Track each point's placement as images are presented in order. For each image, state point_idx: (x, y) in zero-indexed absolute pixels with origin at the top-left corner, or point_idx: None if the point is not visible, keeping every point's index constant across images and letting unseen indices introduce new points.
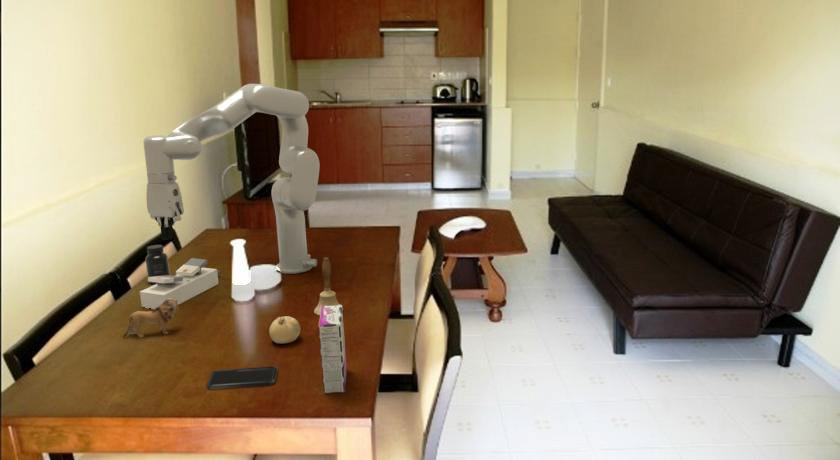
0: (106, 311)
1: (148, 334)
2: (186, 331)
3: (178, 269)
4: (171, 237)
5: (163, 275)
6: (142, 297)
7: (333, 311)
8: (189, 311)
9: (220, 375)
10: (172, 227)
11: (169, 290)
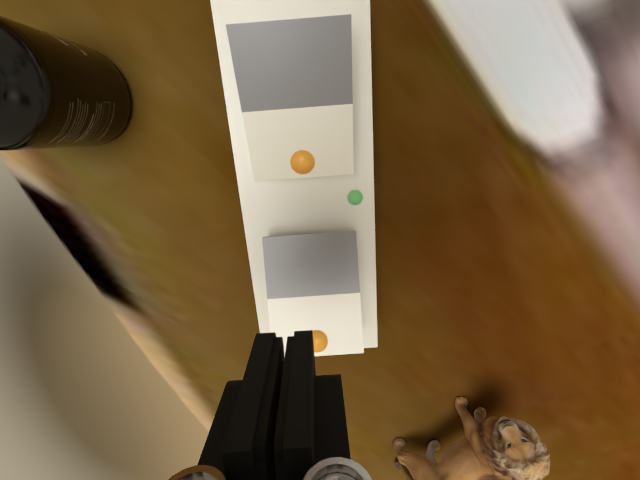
0: (197, 375)
1: (438, 429)
2: (525, 387)
3: (254, 162)
4: (313, 357)
5: (111, 111)
6: None
7: None
8: (442, 288)
9: None
10: (311, 414)
11: (362, 308)
